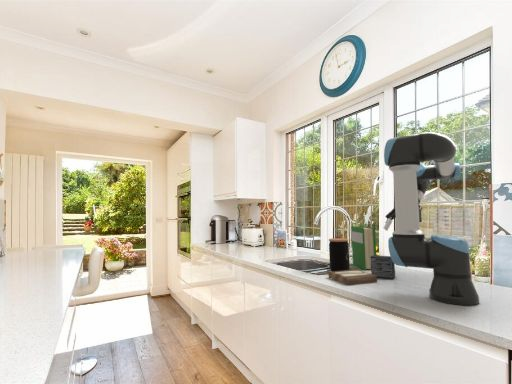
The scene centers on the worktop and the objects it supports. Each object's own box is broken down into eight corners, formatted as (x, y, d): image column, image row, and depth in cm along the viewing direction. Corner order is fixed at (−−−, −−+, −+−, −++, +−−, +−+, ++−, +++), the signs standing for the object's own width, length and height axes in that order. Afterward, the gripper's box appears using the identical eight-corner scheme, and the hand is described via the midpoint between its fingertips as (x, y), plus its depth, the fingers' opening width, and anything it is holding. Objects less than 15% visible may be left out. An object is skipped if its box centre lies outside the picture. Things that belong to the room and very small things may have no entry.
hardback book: (377, 270, 158) (374, 227, 160) (364, 270, 158) (362, 227, 160) (364, 264, 175) (362, 226, 177) (353, 264, 175) (351, 226, 177)
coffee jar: (351, 273, 150) (349, 240, 151) (330, 273, 152) (329, 240, 154) (348, 269, 160) (347, 238, 162) (329, 269, 163) (328, 238, 164)
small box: (395, 277, 141) (394, 256, 142) (394, 279, 135) (393, 257, 136) (373, 274, 146) (372, 254, 147) (371, 277, 141) (370, 256, 142)
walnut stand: (376, 282, 131) (376, 275, 131) (347, 285, 126) (347, 278, 127) (355, 275, 146) (355, 268, 147) (328, 277, 142) (328, 271, 142)
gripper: (439, 203, 141) (422, 237, 136) (397, 202, 164) (380, 232, 159) (431, 194, 139) (413, 228, 134) (390, 194, 162) (373, 224, 156)
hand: (395, 230), depth 146 cm, fingers open, 13 cm apart
